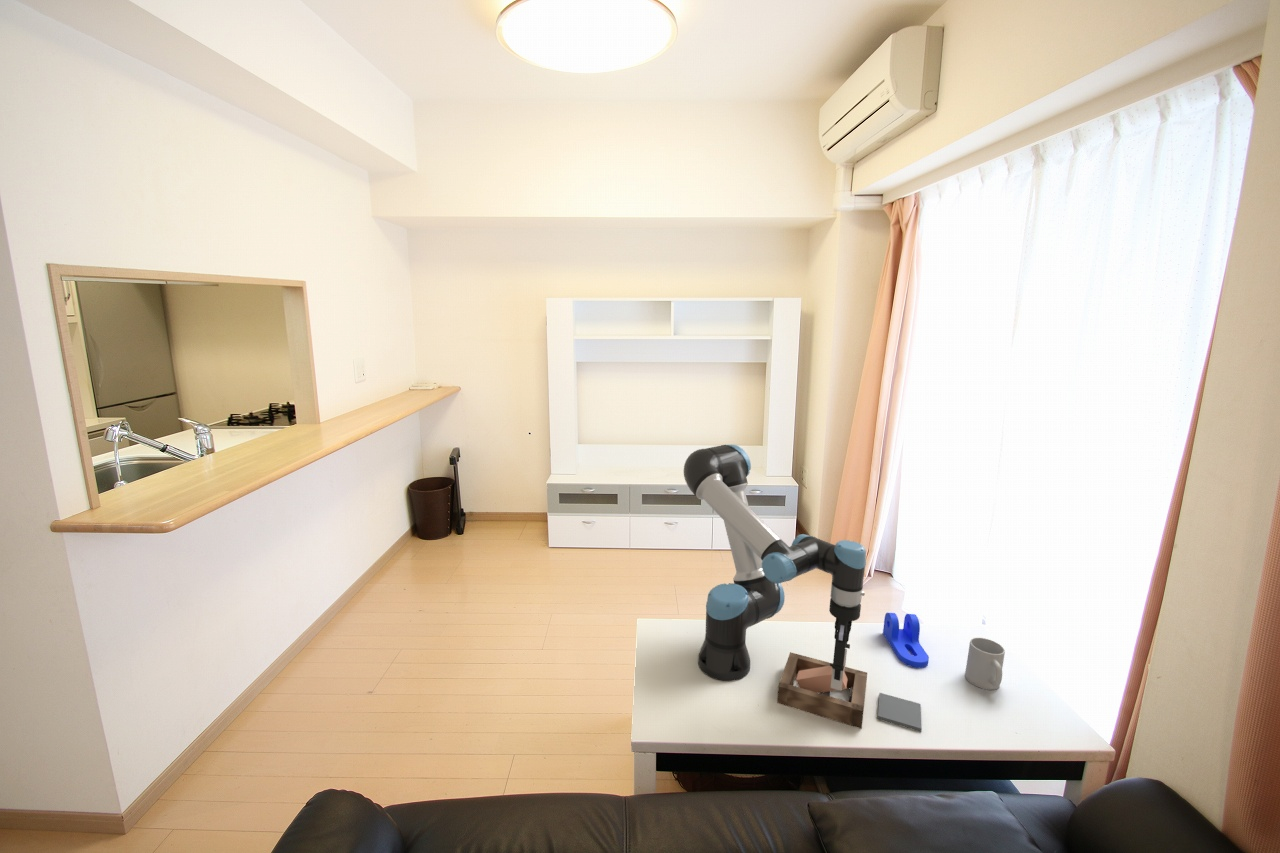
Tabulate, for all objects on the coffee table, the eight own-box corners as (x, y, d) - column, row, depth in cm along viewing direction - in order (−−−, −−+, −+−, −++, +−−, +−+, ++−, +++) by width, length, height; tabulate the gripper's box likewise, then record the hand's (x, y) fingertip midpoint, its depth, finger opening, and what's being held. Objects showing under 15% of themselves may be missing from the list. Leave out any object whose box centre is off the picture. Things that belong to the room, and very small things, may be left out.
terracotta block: (802, 695, 149) (796, 679, 149) (805, 685, 153) (798, 670, 153) (846, 688, 144) (839, 672, 144) (847, 679, 148) (840, 663, 148)
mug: (959, 670, 162) (964, 636, 159) (989, 672, 161) (994, 638, 159) (980, 697, 150) (986, 661, 148) (1013, 699, 149) (1019, 663, 147)
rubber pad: (877, 719, 141) (878, 715, 141) (879, 695, 150) (879, 692, 149) (921, 732, 137) (921, 728, 136) (920, 707, 145) (920, 703, 145)
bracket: (882, 633, 180) (885, 608, 178) (909, 635, 179) (912, 610, 178) (903, 667, 163) (907, 639, 161) (932, 669, 162) (936, 641, 160)
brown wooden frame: (777, 702, 146) (778, 686, 145) (788, 667, 161) (790, 652, 160) (861, 728, 137) (863, 711, 136) (865, 688, 152) (867, 672, 151)
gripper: (858, 623, 131) (849, 707, 136) (863, 586, 150) (855, 661, 154) (825, 616, 135) (817, 698, 139) (834, 580, 153) (827, 654, 157)
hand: (837, 678), depth 147 cm, fingers open, 8 cm apart
